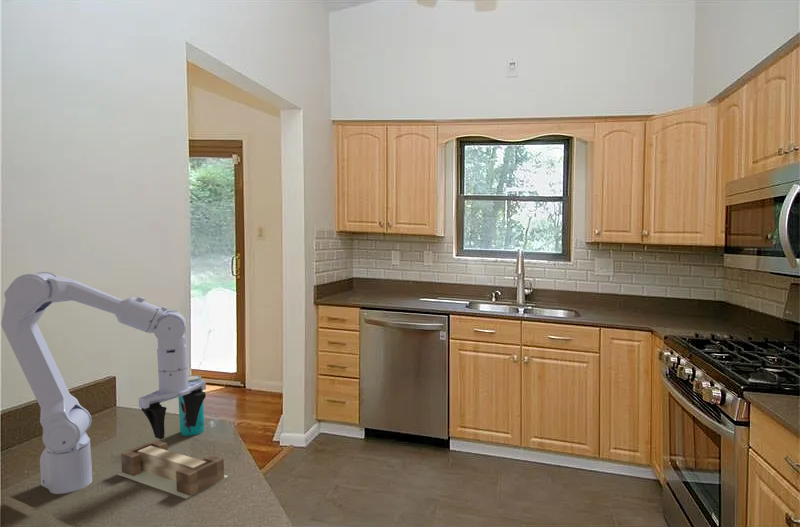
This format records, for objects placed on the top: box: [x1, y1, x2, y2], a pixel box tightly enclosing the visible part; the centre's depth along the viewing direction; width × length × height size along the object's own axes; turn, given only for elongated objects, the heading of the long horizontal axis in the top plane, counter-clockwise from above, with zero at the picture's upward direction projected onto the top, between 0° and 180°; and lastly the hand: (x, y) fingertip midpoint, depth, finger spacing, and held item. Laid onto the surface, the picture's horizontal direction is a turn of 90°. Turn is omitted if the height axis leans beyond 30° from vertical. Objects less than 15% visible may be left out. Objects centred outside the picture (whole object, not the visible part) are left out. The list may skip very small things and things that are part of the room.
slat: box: [138, 446, 206, 481], centre depth 103 cm, size 18×3×4 cm, turn 60°
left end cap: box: [120, 439, 169, 476], centre depth 108 cm, size 4×8×4 cm, turn 150°
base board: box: [116, 470, 229, 499], centre depth 103 cm, size 22×10×1 cm, turn 60°
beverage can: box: [178, 374, 205, 437], centre depth 127 cm, size 6×6×15 cm
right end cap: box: [176, 454, 225, 497], centre depth 99 cm, size 4×8×4 cm, turn 150°
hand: (176, 431), depth 106 cm, fingers open, 7 cm apart
